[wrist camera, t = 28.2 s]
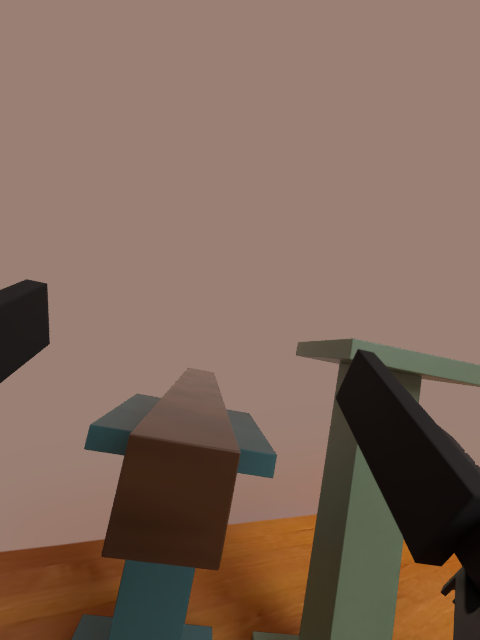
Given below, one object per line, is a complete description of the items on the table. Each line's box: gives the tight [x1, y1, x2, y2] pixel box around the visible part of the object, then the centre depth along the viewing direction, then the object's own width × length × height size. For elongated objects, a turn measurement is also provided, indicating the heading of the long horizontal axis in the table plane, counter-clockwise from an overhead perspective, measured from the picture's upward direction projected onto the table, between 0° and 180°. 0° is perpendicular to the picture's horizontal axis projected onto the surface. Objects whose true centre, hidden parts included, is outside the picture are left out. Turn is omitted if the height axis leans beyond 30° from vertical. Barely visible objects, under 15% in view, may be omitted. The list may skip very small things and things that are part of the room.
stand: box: [251, 339, 480, 640], centre depth 25 cm, size 12×12×30 cm
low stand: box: [72, 394, 277, 640], centre depth 23 cm, size 12×12×21 cm
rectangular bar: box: [102, 368, 241, 570], centre depth 21 cm, size 27×3×3 cm, turn 7°
